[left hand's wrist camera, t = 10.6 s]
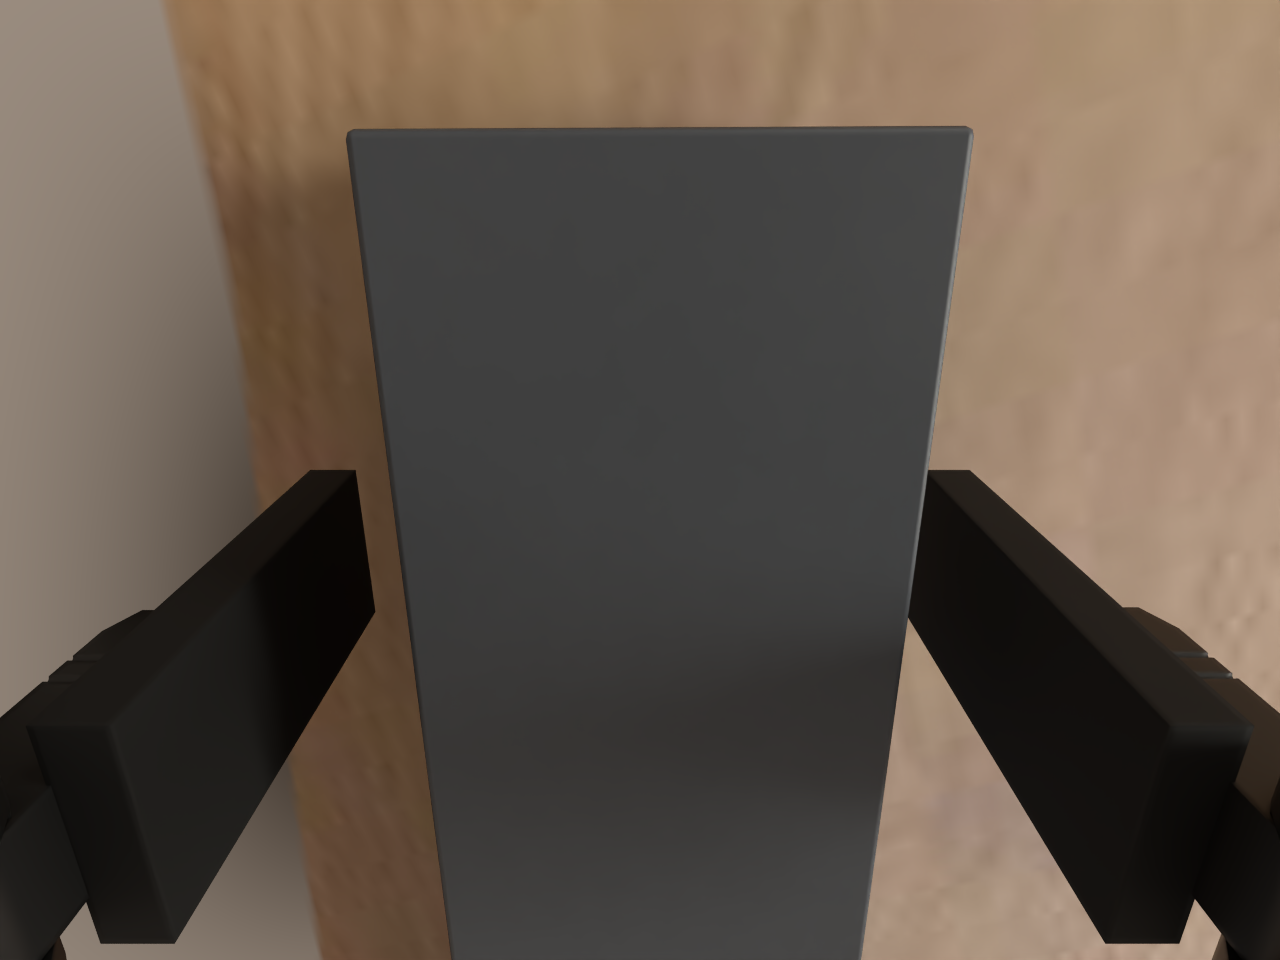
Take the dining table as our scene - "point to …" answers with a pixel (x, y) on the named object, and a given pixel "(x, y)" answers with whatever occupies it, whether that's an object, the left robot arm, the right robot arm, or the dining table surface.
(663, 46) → the dining table surface
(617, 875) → the beam
